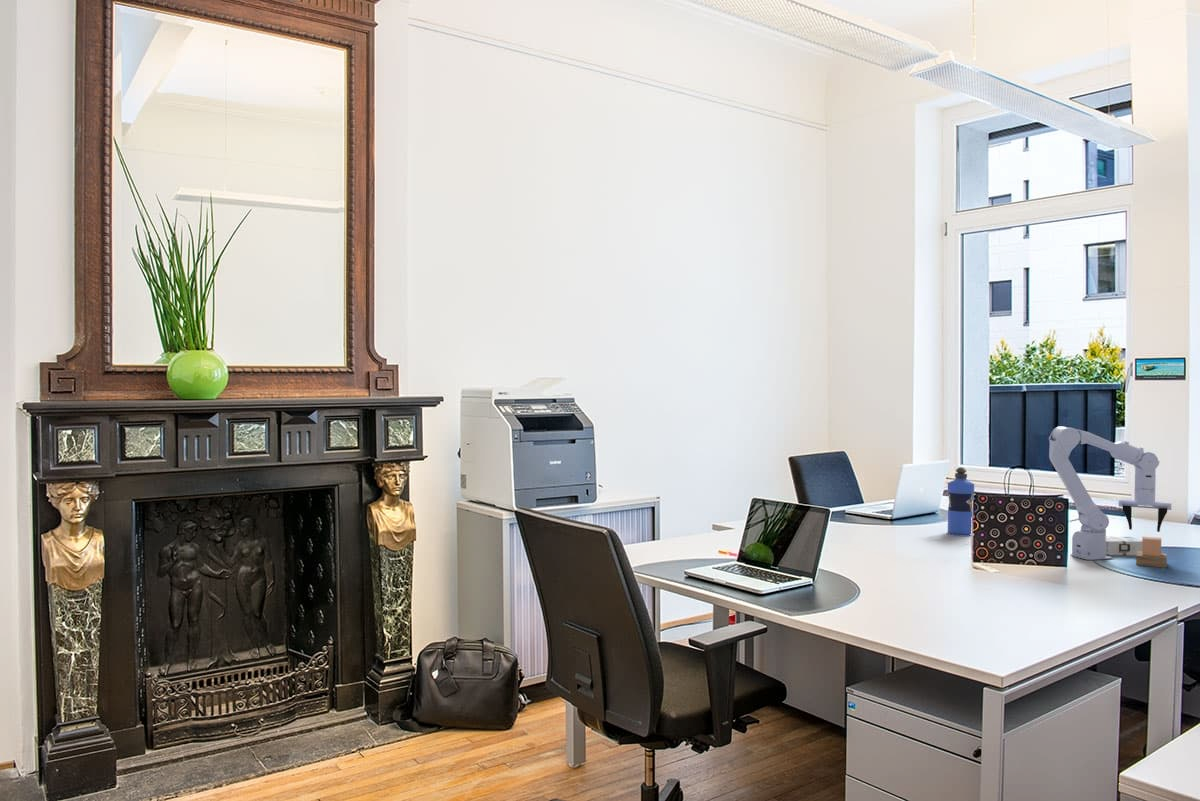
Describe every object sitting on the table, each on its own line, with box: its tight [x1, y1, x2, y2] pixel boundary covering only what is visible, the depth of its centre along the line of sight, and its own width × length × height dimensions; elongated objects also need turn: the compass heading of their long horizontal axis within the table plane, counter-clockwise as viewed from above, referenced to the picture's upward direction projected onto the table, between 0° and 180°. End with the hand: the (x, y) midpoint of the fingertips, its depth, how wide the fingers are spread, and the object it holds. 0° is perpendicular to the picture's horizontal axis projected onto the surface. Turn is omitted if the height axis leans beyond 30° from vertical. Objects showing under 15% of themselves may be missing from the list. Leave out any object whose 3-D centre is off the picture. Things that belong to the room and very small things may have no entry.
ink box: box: [1106, 536, 1143, 556], centre depth 296 cm, size 9×5×15 cm
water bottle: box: [947, 467, 975, 537], centre depth 333 cm, size 9×9×25 cm
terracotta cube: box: [1142, 536, 1162, 556], centre depth 278 cm, size 5×5×5 cm
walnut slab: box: [1135, 551, 1168, 569], centre depth 278 cm, size 8×8×3 cm
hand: (1144, 530), depth 286 cm, fingers open, 7 cm apart
